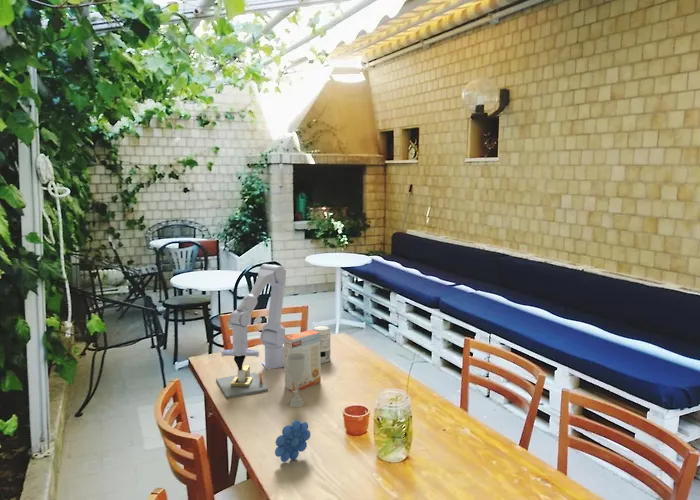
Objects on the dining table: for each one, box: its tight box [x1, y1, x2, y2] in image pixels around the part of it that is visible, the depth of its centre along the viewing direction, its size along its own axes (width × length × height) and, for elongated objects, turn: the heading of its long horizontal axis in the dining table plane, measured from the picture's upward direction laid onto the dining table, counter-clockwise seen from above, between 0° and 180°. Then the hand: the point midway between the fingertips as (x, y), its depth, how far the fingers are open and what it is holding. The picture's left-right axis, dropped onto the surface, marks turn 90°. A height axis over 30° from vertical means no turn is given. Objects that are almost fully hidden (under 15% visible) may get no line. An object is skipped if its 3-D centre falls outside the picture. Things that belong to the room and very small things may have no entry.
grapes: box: [274, 419, 311, 463], centre depth 160 cm, size 12×7×12 cm, turn 124°
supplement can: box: [312, 325, 331, 364], centre depth 240 cm, size 8×8×15 cm
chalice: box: [287, 353, 306, 408], centre depth 196 cm, size 7×7×18 cm
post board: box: [215, 370, 269, 399], centre depth 213 cm, size 16×18×6 cm
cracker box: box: [283, 329, 322, 393], centre depth 213 cm, size 14×6×21 cm, turn 133°
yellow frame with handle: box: [231, 365, 253, 387], centre depth 215 cm, size 12×7×4 cm, turn 178°
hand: (240, 373), depth 218 cm, fingers closed, pressing on yellow frame with handle
